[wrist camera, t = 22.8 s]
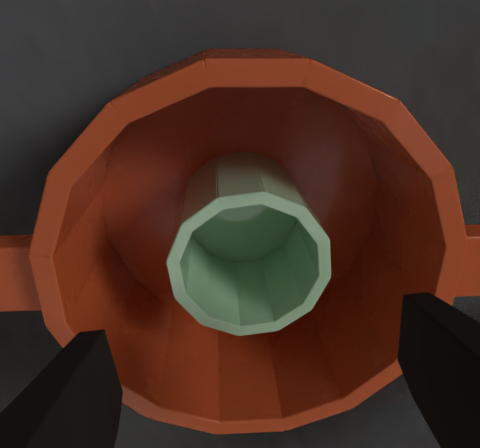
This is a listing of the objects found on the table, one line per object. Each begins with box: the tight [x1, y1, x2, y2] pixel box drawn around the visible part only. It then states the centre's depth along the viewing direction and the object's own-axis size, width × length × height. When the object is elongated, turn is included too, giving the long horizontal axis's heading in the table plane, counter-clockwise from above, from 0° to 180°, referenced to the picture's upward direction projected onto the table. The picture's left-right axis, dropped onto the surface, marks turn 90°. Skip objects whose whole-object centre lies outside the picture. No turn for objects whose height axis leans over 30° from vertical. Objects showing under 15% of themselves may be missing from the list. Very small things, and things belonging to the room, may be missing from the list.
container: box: [166, 152, 331, 336], centre depth 16 cm, size 6×6×5 cm
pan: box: [0, 48, 480, 434], centre depth 16 cm, size 13×19×6 cm
